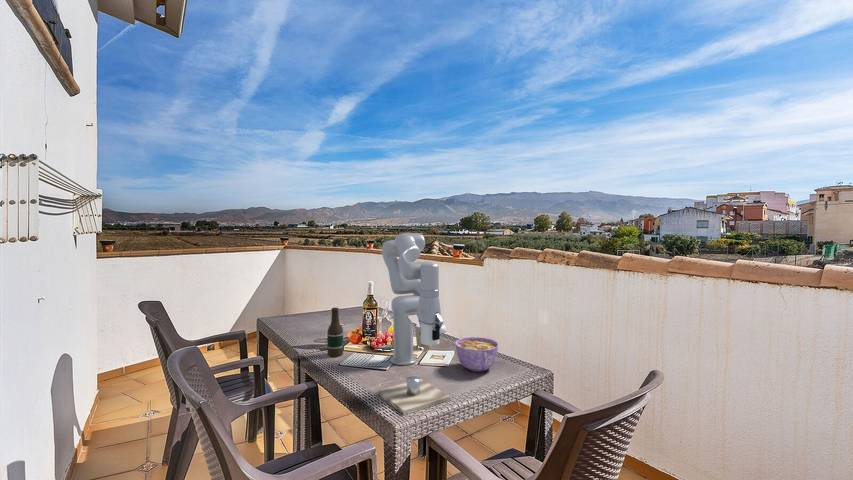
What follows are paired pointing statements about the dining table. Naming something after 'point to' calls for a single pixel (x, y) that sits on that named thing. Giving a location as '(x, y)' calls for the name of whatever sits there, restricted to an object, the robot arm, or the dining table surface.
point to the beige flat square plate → (413, 395)
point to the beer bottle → (335, 335)
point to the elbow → (429, 334)
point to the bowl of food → (477, 352)
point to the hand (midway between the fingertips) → (429, 337)
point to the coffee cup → (418, 338)
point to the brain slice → (384, 347)
